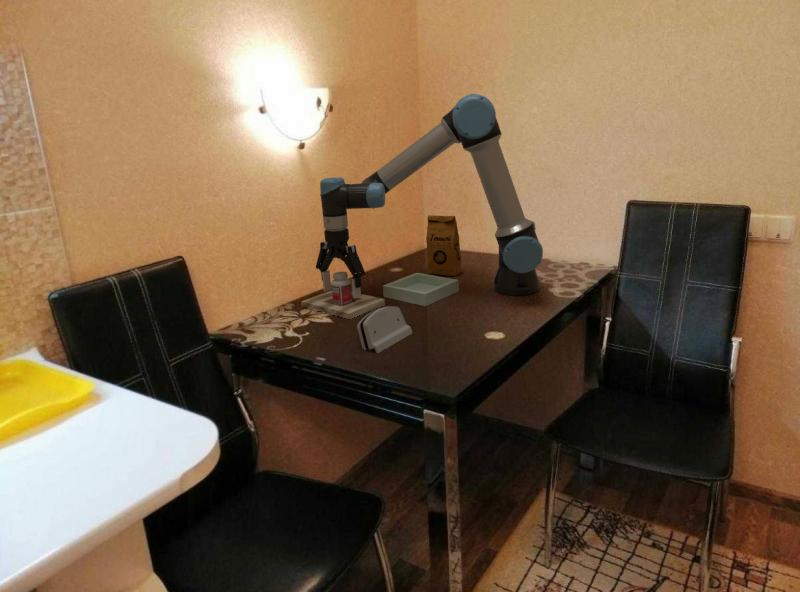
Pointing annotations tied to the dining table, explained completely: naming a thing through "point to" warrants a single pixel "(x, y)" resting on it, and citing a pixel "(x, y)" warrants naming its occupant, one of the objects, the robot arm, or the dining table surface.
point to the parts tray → (421, 289)
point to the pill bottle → (341, 289)
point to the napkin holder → (382, 328)
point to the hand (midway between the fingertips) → (342, 293)
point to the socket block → (347, 311)
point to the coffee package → (443, 246)
